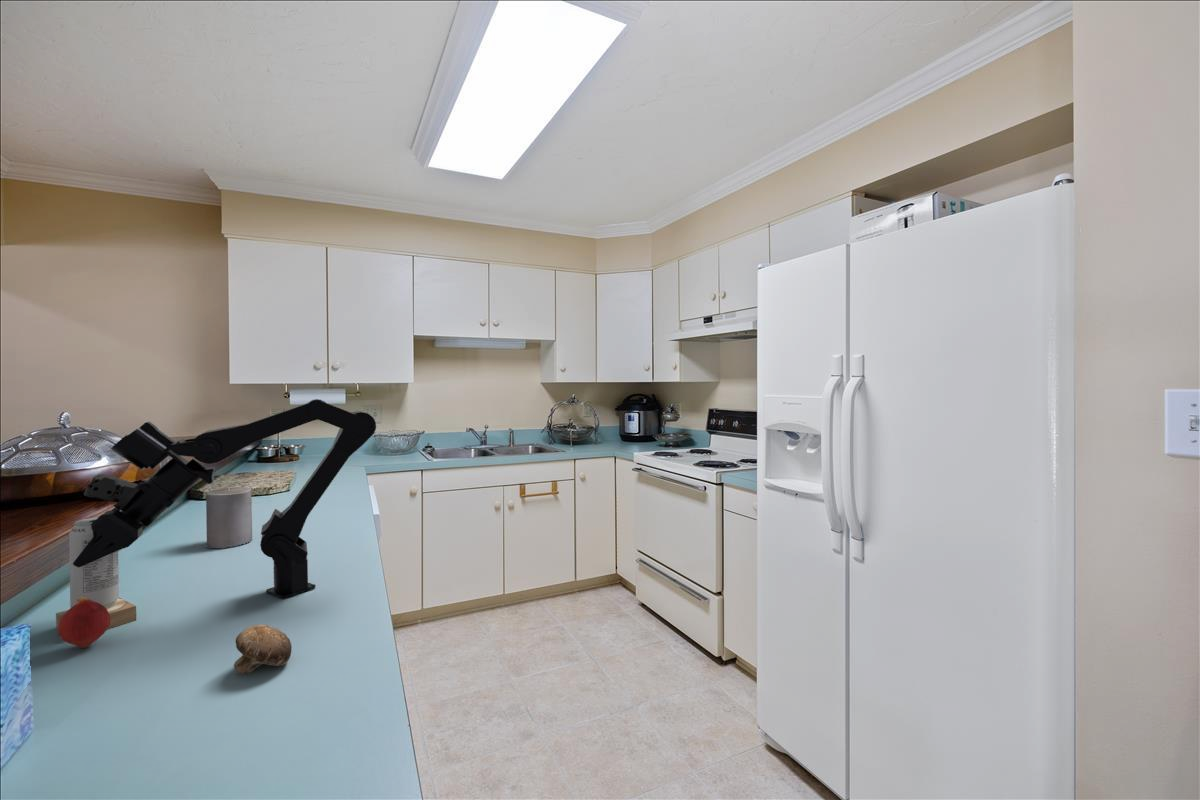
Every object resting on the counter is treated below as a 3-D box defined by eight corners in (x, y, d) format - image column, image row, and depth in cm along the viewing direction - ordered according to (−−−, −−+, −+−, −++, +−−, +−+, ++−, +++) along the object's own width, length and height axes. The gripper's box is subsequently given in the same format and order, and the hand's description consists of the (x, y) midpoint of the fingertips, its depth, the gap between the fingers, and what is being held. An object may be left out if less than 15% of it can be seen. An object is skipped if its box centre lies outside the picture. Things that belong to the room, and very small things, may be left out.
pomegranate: (107, 634, 86) (105, 586, 86) (114, 645, 83) (112, 595, 83) (56, 648, 82) (54, 597, 82) (61, 660, 78) (59, 607, 78)
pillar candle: (211, 540, 139) (210, 483, 138) (255, 536, 143) (254, 481, 142) (202, 551, 130) (200, 490, 129) (249, 546, 134) (248, 487, 133)
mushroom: (208, 663, 71) (241, 618, 74) (231, 658, 79) (260, 617, 81) (262, 689, 72) (292, 643, 75) (280, 682, 79) (307, 640, 82)
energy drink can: (109, 598, 94) (108, 514, 94) (125, 604, 92) (124, 518, 91) (63, 610, 89) (62, 522, 89) (79, 618, 86) (78, 526, 86)
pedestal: (136, 620, 92) (136, 604, 92) (73, 639, 85) (73, 622, 85) (117, 610, 96) (117, 594, 96) (56, 627, 89) (55, 611, 89)
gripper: (135, 451, 100) (56, 517, 94) (107, 464, 84) (9, 544, 78) (189, 488, 104) (116, 553, 99) (172, 507, 88) (84, 586, 82)
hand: (83, 558), depth 89 cm, fingers open, 8 cm apart
